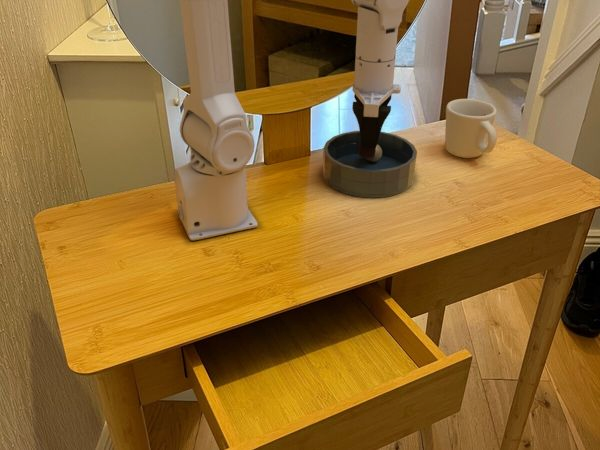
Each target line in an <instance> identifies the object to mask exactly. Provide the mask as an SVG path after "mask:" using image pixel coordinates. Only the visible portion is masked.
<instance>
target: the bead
mask: <svg viewBox="0 0 600 450" xmlns="http://www.w3.org/2000/svg"><path fill="white" fill-rule="evenodd" d="M381 156H382V149H381V147H380V146H379V145H377V146H376V151H375V156H374V157H373V158H365V159H366V160H368V161H369V162H376V161H378V160H379V159H380V158H381Z"/></svg>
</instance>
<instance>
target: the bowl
mask: <svg viewBox="0 0 600 450" xmlns="http://www.w3.org/2000/svg"><path fill="white" fill-rule="evenodd" d="M360 139H361V138H360V130H353V131H348V132H342V133H339V134H337V135H334V136H332V137H331V138H329V139H328V140H327V141H326V142H325V143H324V146H323V147H322V148H323V149H322V150H323V151H322V153H323V154H322V172H323V174H322V177H323V179H324V181H325V182H326V183H327V185H328V186H330V187H331V188H332V189H334V190H336V191H338V192H340V193H342V194H345V195H349V196H352V197H358V198H367V199H380V198H388V197H392V196H397V195H399V194H401V193H403V192H405V191H407V190H408V189H409V188H410V187H412V185H413V183H414V182H415V181H414V180H415V175H416V167H417V166H416V165H417V157H418V150H417V149H416V147H415V144H413V143H412V142H410V141H409V140H408V139H407V138H404V137H401V136H399V135H397V134H394V133H390V132H386V131H381V132H380V136H379V140H378V143H377V145H379V146H380V147H381V149H382V156H381V158H380V159H379V160H378V161H376V162H369V161H368V160H366V159H365V158H363V157H361V156H360V155H359V154H358V152H359V146H360Z"/></svg>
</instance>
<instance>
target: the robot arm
mask: <svg viewBox="0 0 600 450" xmlns="http://www.w3.org/2000/svg"><path fill="white" fill-rule="evenodd" d="M350 1H351V3H352V5H356V6H357V23H356V38H355V39H356V40H355V42H356V43H355V61H354V76H353V77H354V78H353V79H354V80H353V83H352V89H351V90H352V92H353V94H354V96H353V97H354V100H355V101H352V108H351V109H352V113H353V114H354V116H355V118H356V122H357V124H358V131H360V138H361V144H362V147H364V148H376V146H377V143H378V140H379V136H380V132H382V129H383V125H384V123H385V122H386V120H387V118H389V115H390V113H391V111H392V106H391V105H389V103H390V102H391V101H392V95H393V94H394V95H395V94H401V89H402V86H401V85H400V84H397V83H396V84H395V83H394V79H395V78H394V77H395V68H396V67H395V66H396V55H397V46H398V45H397V43H398V33H399V27H400V25H401V23H402V22H403V14H404V11H405V9H406V8H407V6H408V4H409V2H410V0H350ZM179 5H180V7H179V8H180V13H181V22H182V23H181V24H182V31H183V39H184V46H185V47H184V48H185V55H186V63H187V72H188V79H189V87H190V93H189V94H188V95H187V96H185V98H183V100H182V104H183V114H182V117H181V121H180V124H179V134H180V137H181V140H182V141H183V143H185V145H187V146H188V147H189V150H190V157H189V158H190V159H189V160H190V162H188V163H187V164H184V165H182V166H179V167H176V168H174V171H173V177H174V179H173V180H174V188H175V194H176V204H177V215H178V217H179V220H180V221H181V224H182V226H183V228H184V230H185V232H186V234H187V237H188V238H189V240H190V241H197V240H202V239H207V238H208V239H209V238H213V237H217V236H221V235H225V234H231V233H235V232H240V231H245V230H250V229H254V228H257V227H258V225H259V223H258V221H257V219H256V218H255V217H254V215H253V213H252V212H251V210H250V209H249V206H248V187H247V186H248V185H247V165H248V164H249V162H250V161H251V159H252V157H253V155H254V152H255V147H256V146H255V145H256V144H255V139H254V135H253V134H252V133H251V130H250V129H249V127H248V124H247V123H248V122H247V115H246V112H245V111H244V108H243V106H242V105H241V103H240V101H239V99H238V97H237V94H236V91H235V90H236V89H235V78H234V65H233V64H234V63H233V53H232V42H231V41H232V40H231V29H230V17H229V15H230V14H229V4H228V0H179Z"/></svg>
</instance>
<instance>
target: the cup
mask: <svg viewBox="0 0 600 450" xmlns="http://www.w3.org/2000/svg"><path fill="white" fill-rule="evenodd" d="M496 117H497V107H495V106H494V105H493V104H492V103H489V102H487V101H484V100H481V99H477V98H476V99H474V98H459V99H454V100H451V101H449V102H448V103H447V105H446V107H445V130H444V132H445V134H444V143H445V149H446V150H447V152H448V153H450V154H451V155H453V156H454V157H459V158H463V159H473V158H477V157H480V156H482V155H483V154H490V153H491V152H492V151H493V150H494V149H495V147H496V144H497V139H498V134H497V130H496V128H495V127H494V123H495V120H496Z"/></svg>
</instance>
